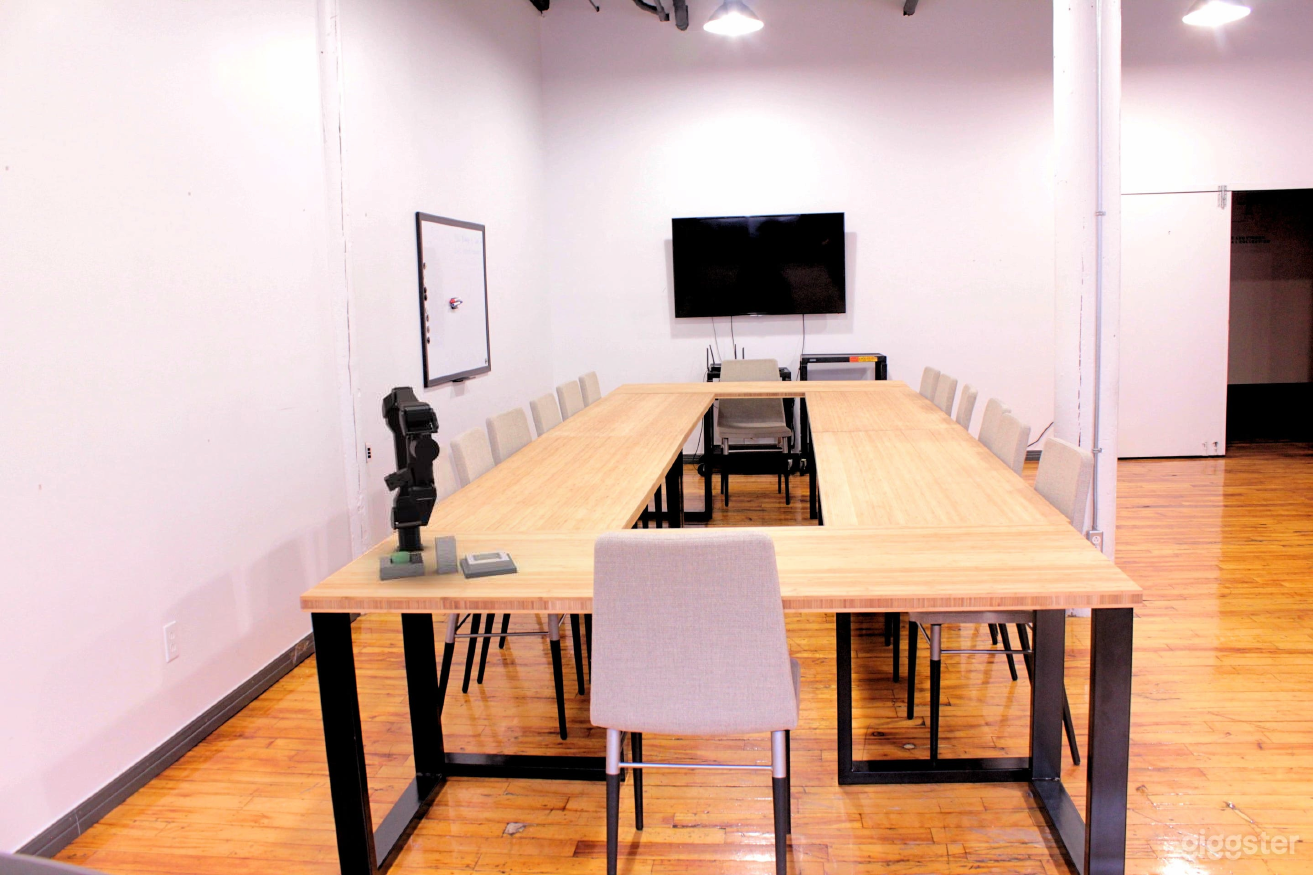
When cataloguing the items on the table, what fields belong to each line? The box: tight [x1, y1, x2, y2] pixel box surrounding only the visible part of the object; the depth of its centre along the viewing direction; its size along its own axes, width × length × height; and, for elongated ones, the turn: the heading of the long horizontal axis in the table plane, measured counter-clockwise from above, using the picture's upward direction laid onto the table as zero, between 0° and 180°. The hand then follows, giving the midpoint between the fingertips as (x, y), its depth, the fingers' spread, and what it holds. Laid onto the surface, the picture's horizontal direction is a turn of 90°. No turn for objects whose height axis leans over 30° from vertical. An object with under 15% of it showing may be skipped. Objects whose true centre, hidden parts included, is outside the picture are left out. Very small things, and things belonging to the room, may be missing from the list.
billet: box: [434, 535, 459, 575], centre depth 237 cm, size 4×4×8 cm
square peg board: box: [378, 552, 425, 581], centre depth 238 cm, size 10×10×3 cm
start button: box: [391, 551, 410, 563], centre depth 238 cm, size 4×4×4 cm
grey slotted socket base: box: [459, 549, 518, 579], centre depth 239 cm, size 14×12×3 cm
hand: (424, 521), depth 236 cm, fingers open, 9 cm apart
